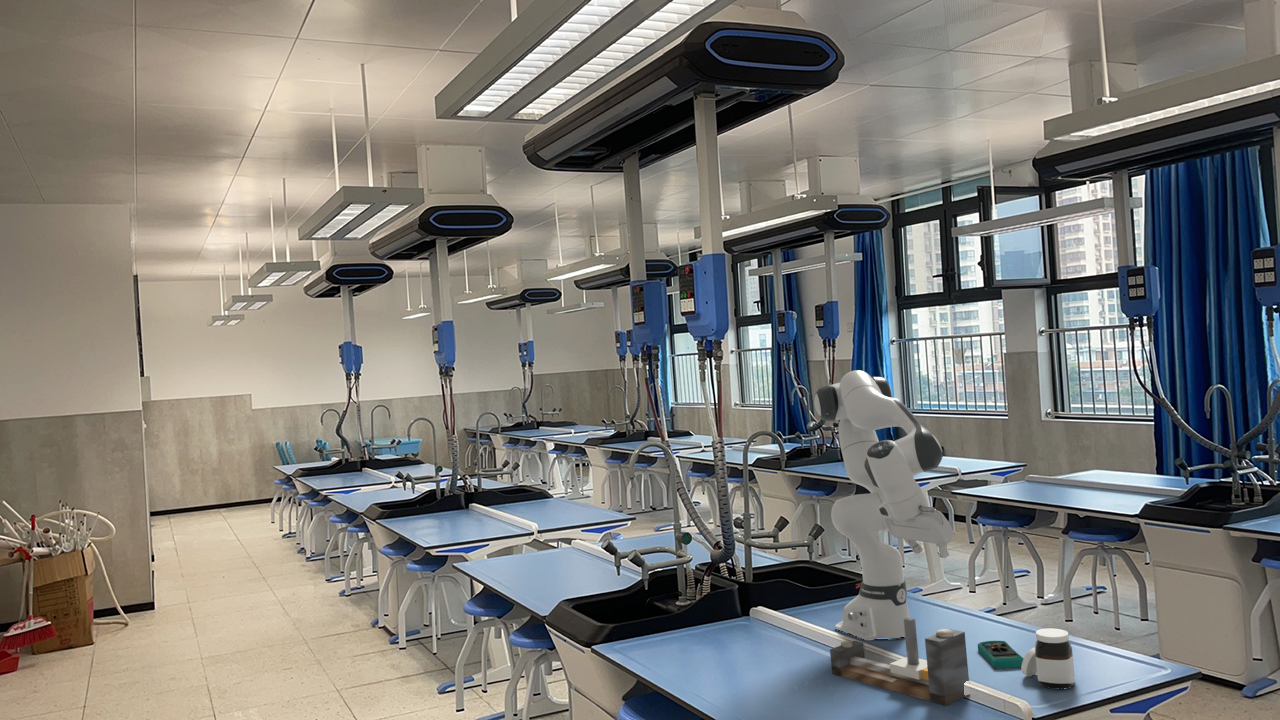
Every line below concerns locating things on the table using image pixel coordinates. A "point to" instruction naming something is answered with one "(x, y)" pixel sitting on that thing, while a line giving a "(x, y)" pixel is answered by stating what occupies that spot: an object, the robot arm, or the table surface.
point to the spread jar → (1051, 659)
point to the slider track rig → (941, 687)
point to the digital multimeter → (1000, 654)
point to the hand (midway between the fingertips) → (931, 554)
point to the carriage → (909, 654)
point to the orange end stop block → (924, 673)
